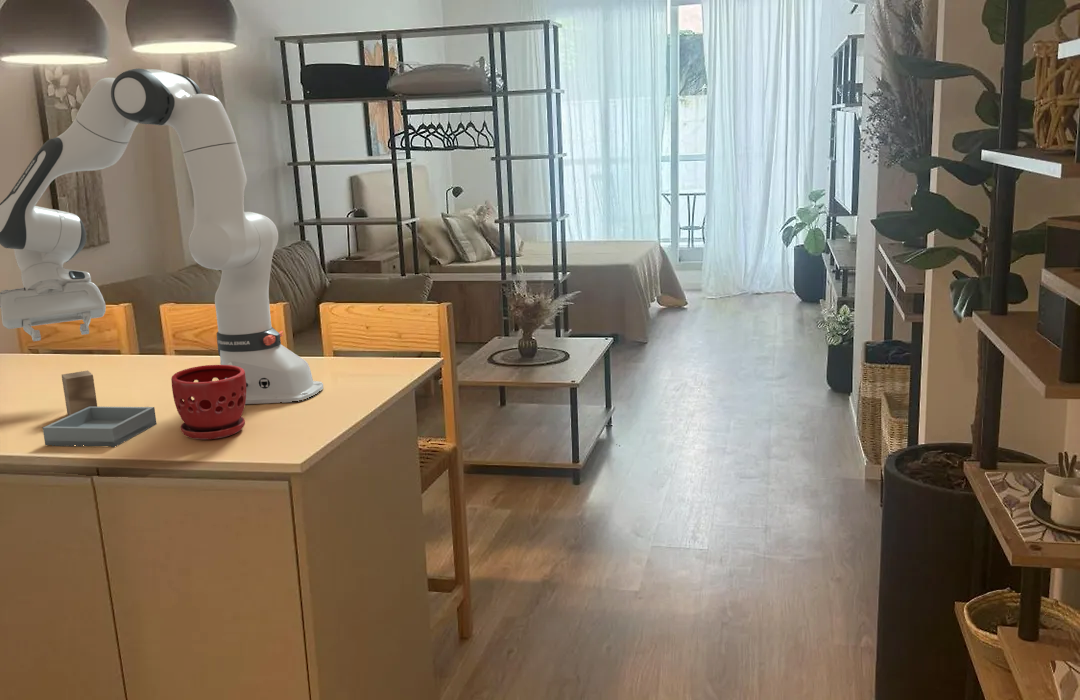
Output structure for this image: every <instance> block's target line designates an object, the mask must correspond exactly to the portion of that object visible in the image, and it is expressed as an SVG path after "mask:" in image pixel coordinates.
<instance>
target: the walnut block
mask: <svg viewBox="0 0 1080 700" xmlns="http://www.w3.org/2000/svg"><path fill="white" fill-rule="evenodd" d="M61 380H62V387H63V393H64V401H65V408H66V414H67V416H69V415H72V414H74V413H76V412H78V411H80V410H83V409H85V408H87V407H89V406H94V407H98V399H97V395H96V387H95V381H94V375H93V373H92V372H90V371H89V370H83V371H82V370H81V371H76V372H70V373H64V374H61Z"/></svg>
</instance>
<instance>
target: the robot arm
mask: <svg viewBox="0 0 1080 700" xmlns="http://www.w3.org/2000/svg"><path fill="white" fill-rule="evenodd" d="M202 92H203V91H202V90H201V88H200V87H199V85H198V84H197V83H196V82H195V81H194V80H192V79H191V78H190V77H188V76H186V75H184V74H181V73H173V72H168V71H166V70H163V69H152V68H149V69H148V68H147V69H146V68H145V69H144V68H132V69H128V70H125V71H122V72H121V73H120V74H119V75H117V76H116V77H103V78H101V79H99V80H98V81H96V82H95V84H94V85H93V86H92V88H91V90H89V92H88V93H87V95H86V97H85V99H83V102H82V103H81V105H80V107H79V109H78V111H77V114H76V116H75V118H74V120H73V121H72V123H71V124H70V125H69V127H68V128H67V129H66V130H65V131H64V132H62V133H61V134H59V135H58V136H56V137H52V138H49V139H47V140H46V142H44V143H43V144H42V145H41V147H40V148H39V149H38V151H37V152H36V154H35V155H34V157H33V158H32V159H31V161H30V162H29V164H28V165H27V167H26V168H25V170H24V171H23V173H22V174H21V176H20V177H19V178H18V180H17V181H16V183H15V184H14V186H13V188H12V189H11V191H9V193H8V195H7V196H5V198H4V199H3V200H2V201H1V202H0V245H1V246H2V247H3V248H5V249H11V250H12V249H13V252H14V257H15V261H16V264H17V265H16V266H18V268H19V270H20V272H21V273H20V274H21V275H20V279H21V283H22V285H23V286H22V287H21V288H18V287H17V288H13V289H3V290H1V291H0V315H1V324H2V326H3V327H4V328H6V329H8V330H11V329H12V330H13V329H18V328H19V329H20V328H23V331H24V332H25V333H27V334H28V335H29V336H31V339H32V342H38V341H42V340H41V339H42V335H41V331H40V329H34V328H33V327H36V326H43V325H49V324H50V325H51V324H59V323H60V324H61V323H66V322H74V321H81V320H82V322H83V323H81V324H79V331H80V334H81V335H89V334H90V328H89V326H90V323H91V321H92V320H91V319H98V318H102V317H104V316H105V314H106V309H107V308H106V302H105V300H104V296H103V294H102V292H101V291H100V288H99V287H98V285H96V284H95V283H94V282H92V276H91V274H90V273H89V272H87V271H82V270H74V269H68V268H64V264H65V263H68V262H70V261H71V260H73V258H75V257H76V256H77V255H78V254H79V253H81V251H82V250H83V249H84V247H85V245H86V243H87V232H86V228H85V225H84V222H83V221H82V219H81V217H80V216H79V215H77V214H76V213H72V212H68V211H63V210H58V209H54V208H47V207H43V206H40V205H39V206H38V205H37V203H38V202H39V201H40V199H41V197H42V196H43V194H44V193H45V192H46V190H47V189H48V187H49V186H50V184H51V183H52V182H53V181H54V180H55V179H56V178H58V177H60V176H63V175H66V174H70V173H78V172H88V171H90V172H91V171H100V170H103V169H108V168H109V167H112V166H114V165H116V164H117V163H118V162H119V161H120V159H121V158H122V156H123V155H124V153H125V151H126V150H127V147H128V145H129V143H130V141H131V139H132V135H133V133H134V131H135V130H136V127H137V126H138V125H139V124H141V125H155V126H169V127H170V128H172V129H173V130H174V131H175V133H176V134H177V136H178V139H179V140H178V141H179V142H180V146H181V150H182V154H183V158H184V160H185V165H186V169H187V172H188V177H189V181H190V184H191V188H192V194H193V195H192V196H193V227H192V230H191V232H190V235H189V237H188V251H189V253H190V255H191V257H192V258H193V260H194V262H196V263H197V264H198V265H199V266H201V267H202V268H206V269H210V270H217V271H221V276H220V282H219V285H218V287H217V290H215V295H214V307H215V314H216V322H217V332H216V342H217V351H218V356H219V359H220V362H219V365H232V366H238V367H241V368H242V369H244V371H245V376H246V402H245V405H253V404H254V405H255V404H259V405H260V404H274V403H276V404H277V403H278V404H279V403H280V402H282V403H293V402H292V401H298V402H300V401H299V400H302V401H304V400H303V399H306V398H308V399H310V398H309V397H311V396H313V395H315V394H317V393H318V392H319V391H321V390H322V389H323V390H324V388H323V387H324V383H323V382H322V381H321V380H320V381H317V380H314V379H313V375H312V370H311V368H310V365H309V363H308V362H307V361H306V360H305V359H304V358H302V357H301V356H299V355H298V354H296V353H294V352H293V351H292V350H290V349H289V348H287V347H286V346H284V345H283V344H281V343H282V341H281V340H282V339H281V337H283V336H284V334H283V332H284V330H280V331H279V332H278V330H276V329H275V328H274V327H273V326H272V320H271V319H272V318H271V307H270V295H269V294H270V289H269V288H270V278H271V270H272V264H273V263H272V262H273V255H274V252H275V250H276V247H277V245H278V243H279V230H278V228H277V225H276V224H275V222H273V220H272V219H270V218H269V217H268V216H266V215H264V214H261V213H257V212H252V211H245V206H244V205H245V201H244V200H245V199H244V197H245V188H246V186H247V183H248V177H247V174H246V170H245V169H246V168H245V166H244V163H243V158H242V155H241V151H240V147H239V143H238V141H237V137H236V134H235V131H234V128H233V126H232V122H231V120H230V117H229V115H228V113H227V110H226V109H225V107H224V105H223V103H222V102H221V100H220V99H219V98H217V97H216V96H214V95H212V94H208V93H202ZM225 379H227V378H225ZM323 390H322V391H323ZM322 391H321V392H322ZM318 394H319V393H318ZM318 394H317V395H318ZM315 396H316V395H315ZM313 397H314V396H313ZM311 398H312V397H311ZM306 400H307V399H306ZM280 404H281V403H280Z"/></svg>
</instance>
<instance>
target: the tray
mask: <svg viewBox="0 0 1080 700" xmlns="http://www.w3.org/2000/svg"><path fill="white" fill-rule="evenodd" d="M155 409H156V408H155V406H154V407H153V406H97V407H94V406H89V407H87V408H85V409H83V410H80V411H78V412H76V413H74V414H72V415H69V416H68V415H67V416H65V417H63V418H60V419H59V420H57V421H55V422H52V423H50V424H48V425H46V426H43V427H42V433H43V439H44V445H52V446H51V447H84V446H111V447H110V448H116V447H117V445H118V446H120V445H121V444H124V443H125V442H126V441H128V440H130V439H132V438H134V437H136V436H138V435H140V434H141V433H143V432H145V431H147V430H149V429H151V428H153V427H154V426H156V425H157V418H156V410H155ZM124 441H125V442H124ZM54 445H55V446H54ZM74 445H76V446H74ZM83 445H84V446H83ZM115 446H116V447H115Z"/></svg>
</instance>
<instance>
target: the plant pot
mask: <svg viewBox="0 0 1080 700" xmlns="http://www.w3.org/2000/svg"><path fill="white" fill-rule="evenodd" d="M225 378H227V379H225ZM170 379H171V389H172V390H171V391H172V397H173V401H174V404H175V405H174V406H175V408H176V411H177V413H178V415H179V417H180V419H181V421H182V422H183V423H181V425H180V427H179V428H180V432H181V433H182V434H183V435H184V436H186V437H188V438H190V439H193V440H205V441H206V440H215V439H222V438H226V437H229V436H232V435H235V434H236V433H238V432H240V431H241V430H242V429H243V428H244V426H245V425H246V420H245V418H244V417H243V416H242V415H243V413H244V410H245V408H246V407H245V406H246V404H245V402H246V376H245V371H244V369H242V368H241V367H238V366H232V365H220V364H209V365H207V364H206V365H198V366H193V367H189V368H185V369H182V370H180V371H176V373H174V374H173V375H172V376H171V378H170ZM213 379H217V380H213ZM192 398H193V399H192Z"/></svg>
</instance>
